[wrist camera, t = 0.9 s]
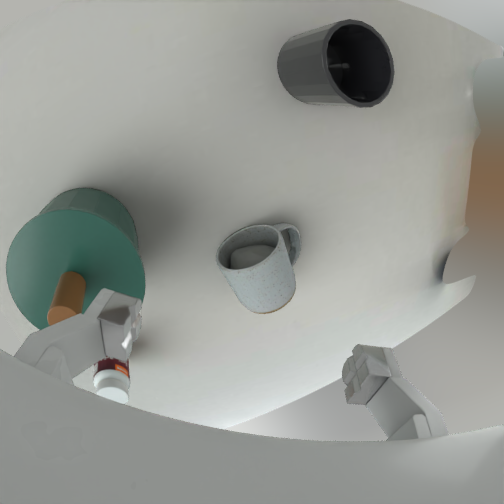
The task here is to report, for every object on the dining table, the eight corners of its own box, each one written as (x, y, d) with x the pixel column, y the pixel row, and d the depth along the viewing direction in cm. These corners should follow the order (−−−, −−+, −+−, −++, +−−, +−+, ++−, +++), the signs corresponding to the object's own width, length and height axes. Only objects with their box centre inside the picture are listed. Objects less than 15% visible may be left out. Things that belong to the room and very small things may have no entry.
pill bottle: (130, 341, 37) (135, 388, 30) (124, 365, 39) (128, 411, 32) (96, 334, 35) (95, 381, 28) (92, 359, 36) (91, 405, 29)
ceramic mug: (236, 295, 40) (258, 331, 34) (207, 248, 36) (227, 280, 29) (303, 253, 41) (335, 281, 35) (283, 203, 37) (317, 224, 31)
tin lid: (-13, 262, 19) (-40, 300, 14) (86, 172, 20) (69, 192, 15) (75, 353, 26) (71, 400, 21) (172, 289, 27) (184, 333, 22)
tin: (18, 231, 26) (-10, 266, 19) (96, 165, 27) (83, 183, 20) (81, 305, 33) (74, 352, 26) (157, 252, 34) (165, 292, 27)
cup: (264, 47, 28) (306, 30, 20) (326, 27, 28) (375, 13, 21) (296, 115, 32) (343, 121, 25) (351, 90, 33) (403, 92, 26)
